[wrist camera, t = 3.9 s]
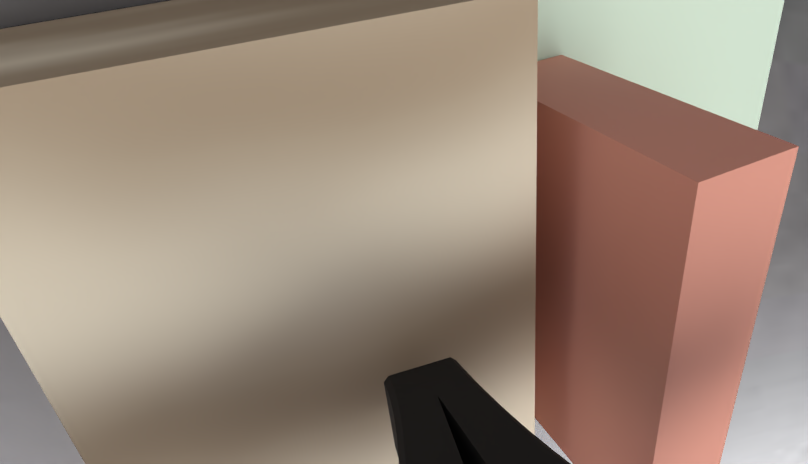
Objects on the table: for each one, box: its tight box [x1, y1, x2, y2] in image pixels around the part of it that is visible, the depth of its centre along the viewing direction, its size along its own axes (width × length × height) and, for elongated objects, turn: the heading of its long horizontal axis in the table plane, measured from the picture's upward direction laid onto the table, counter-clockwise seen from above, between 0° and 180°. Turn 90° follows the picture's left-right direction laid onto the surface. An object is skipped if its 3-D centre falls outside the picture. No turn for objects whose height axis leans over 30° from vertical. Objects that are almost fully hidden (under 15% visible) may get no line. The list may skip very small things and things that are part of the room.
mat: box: [537, 0, 784, 130], centre depth 18 cm, size 12×8×1 cm, turn 7°
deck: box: [0, 0, 538, 464], centre depth 14 cm, size 14×9×4 cm, turn 7°
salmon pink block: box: [535, 55, 799, 464], centre depth 14 cm, size 9×6×2 cm
